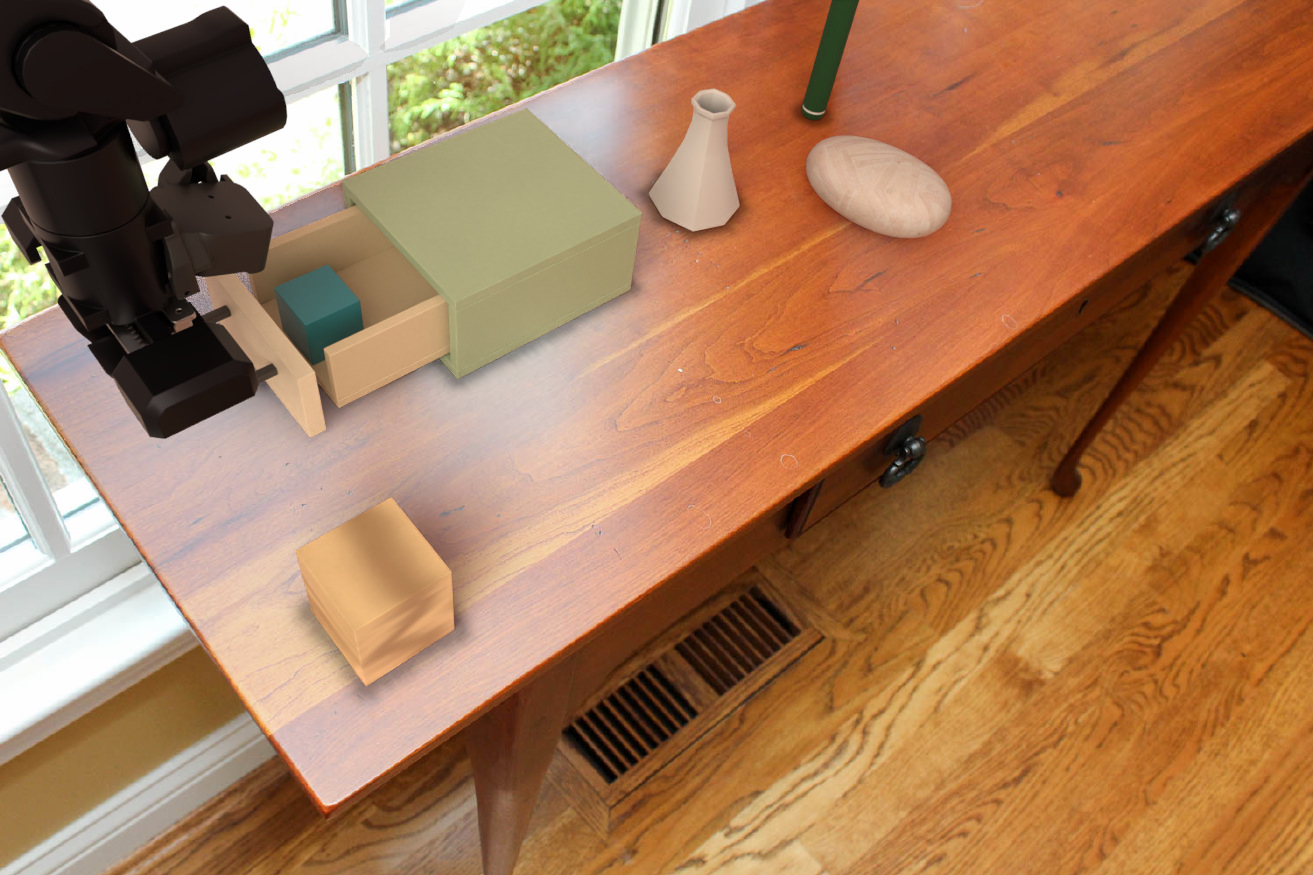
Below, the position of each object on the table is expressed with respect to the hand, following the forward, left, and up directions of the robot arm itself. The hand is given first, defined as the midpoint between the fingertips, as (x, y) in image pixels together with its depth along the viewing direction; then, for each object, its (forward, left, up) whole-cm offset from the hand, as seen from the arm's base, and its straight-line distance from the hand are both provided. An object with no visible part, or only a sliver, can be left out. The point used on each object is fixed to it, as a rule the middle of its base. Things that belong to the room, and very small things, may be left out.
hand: (163, 390), depth 67 cm
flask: (+39, +19, -4) cm, 44 cm away
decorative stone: (+54, +17, -4) cm, 57 cm away
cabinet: (+22, +12, -4) cm, 25 cm away
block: (+10, +5, -2) cm, 11 cm away
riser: (+12, -16, -4) cm, 20 cm away
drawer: (+10, +5, -3) cm, 11 cm away
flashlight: (+53, +30, -4) cm, 61 cm away
